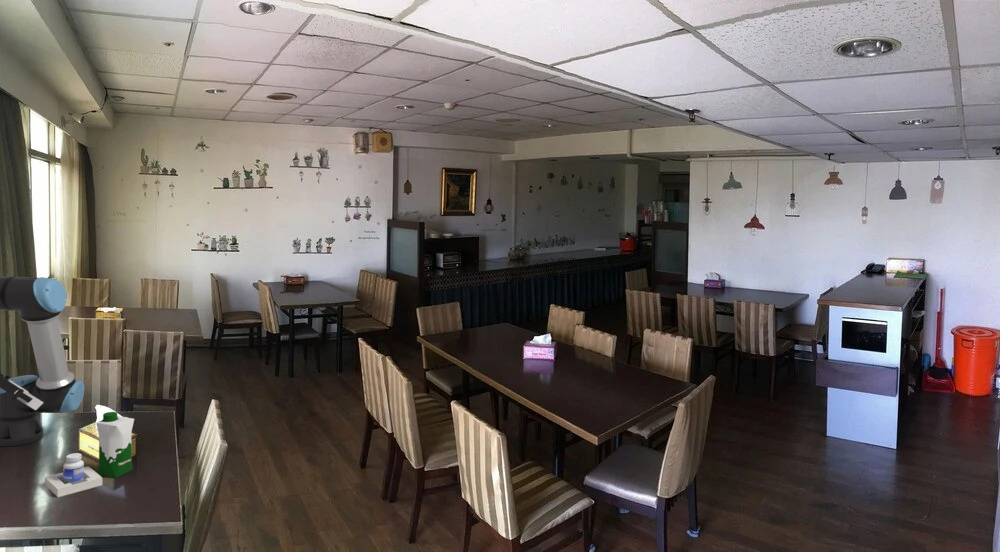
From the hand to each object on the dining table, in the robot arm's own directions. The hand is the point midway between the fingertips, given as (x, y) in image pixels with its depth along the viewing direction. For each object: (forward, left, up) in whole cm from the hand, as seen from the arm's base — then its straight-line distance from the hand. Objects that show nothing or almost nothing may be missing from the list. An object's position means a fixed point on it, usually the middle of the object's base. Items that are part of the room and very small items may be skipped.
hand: (32, 400), depth 181 cm
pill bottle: (0, +11, -30) cm, 32 cm away
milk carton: (-1, +23, -30) cm, 38 cm away
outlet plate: (0, +11, -30) cm, 31 cm away
